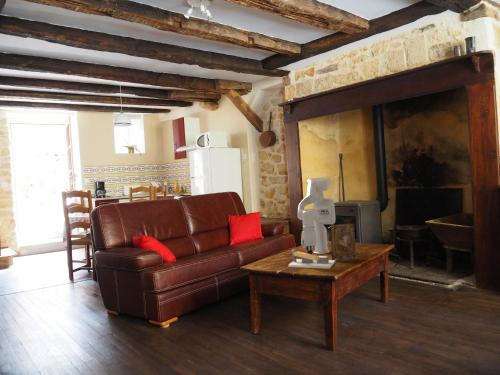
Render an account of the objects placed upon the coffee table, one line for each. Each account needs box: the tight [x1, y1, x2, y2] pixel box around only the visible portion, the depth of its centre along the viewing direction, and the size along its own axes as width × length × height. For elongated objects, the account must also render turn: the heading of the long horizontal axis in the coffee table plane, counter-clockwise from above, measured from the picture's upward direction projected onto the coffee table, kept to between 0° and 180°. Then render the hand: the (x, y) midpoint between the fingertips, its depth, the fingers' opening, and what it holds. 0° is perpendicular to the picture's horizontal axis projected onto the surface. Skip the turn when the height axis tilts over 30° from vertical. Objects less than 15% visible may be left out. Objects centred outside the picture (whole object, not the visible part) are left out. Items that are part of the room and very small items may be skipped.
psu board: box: [288, 255, 336, 270], centre depth 282 cm, size 18×28×6 cm, turn 67°
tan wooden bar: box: [291, 248, 320, 261], centre depth 277 cm, size 4×26×4 cm, turn 30°
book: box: [330, 223, 357, 263], centre depth 290 cm, size 16×6×25 cm, turn 101°
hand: (310, 255), depth 277 cm, fingers closed
